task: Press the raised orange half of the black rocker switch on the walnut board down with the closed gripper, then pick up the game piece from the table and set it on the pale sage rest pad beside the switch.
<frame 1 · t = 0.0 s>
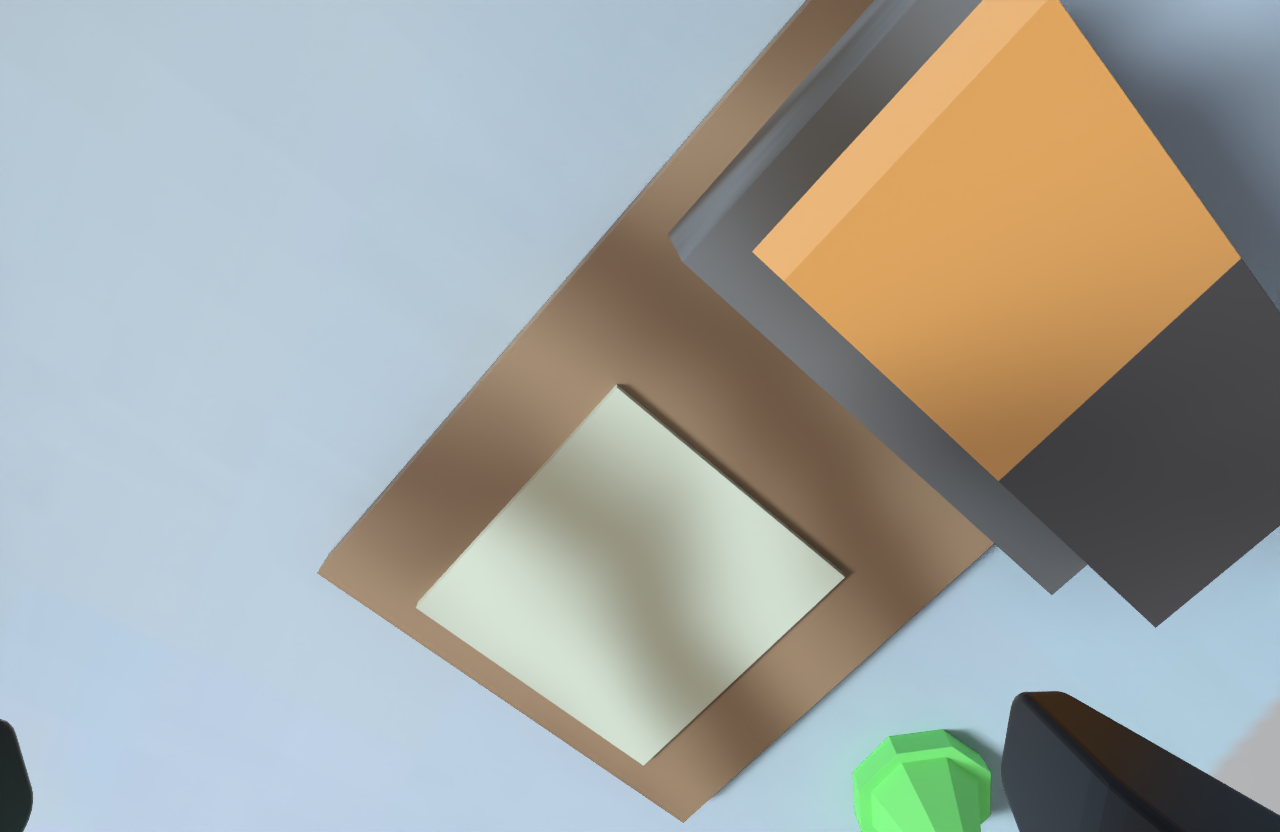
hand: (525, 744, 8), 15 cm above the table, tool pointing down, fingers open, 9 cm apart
switch board: (768, 426, 23), on the table
breaker rocker: (1084, 355, 15), point 7 cm above the table, hinge at -10.0°
game piece: (914, 779, 27), on the table
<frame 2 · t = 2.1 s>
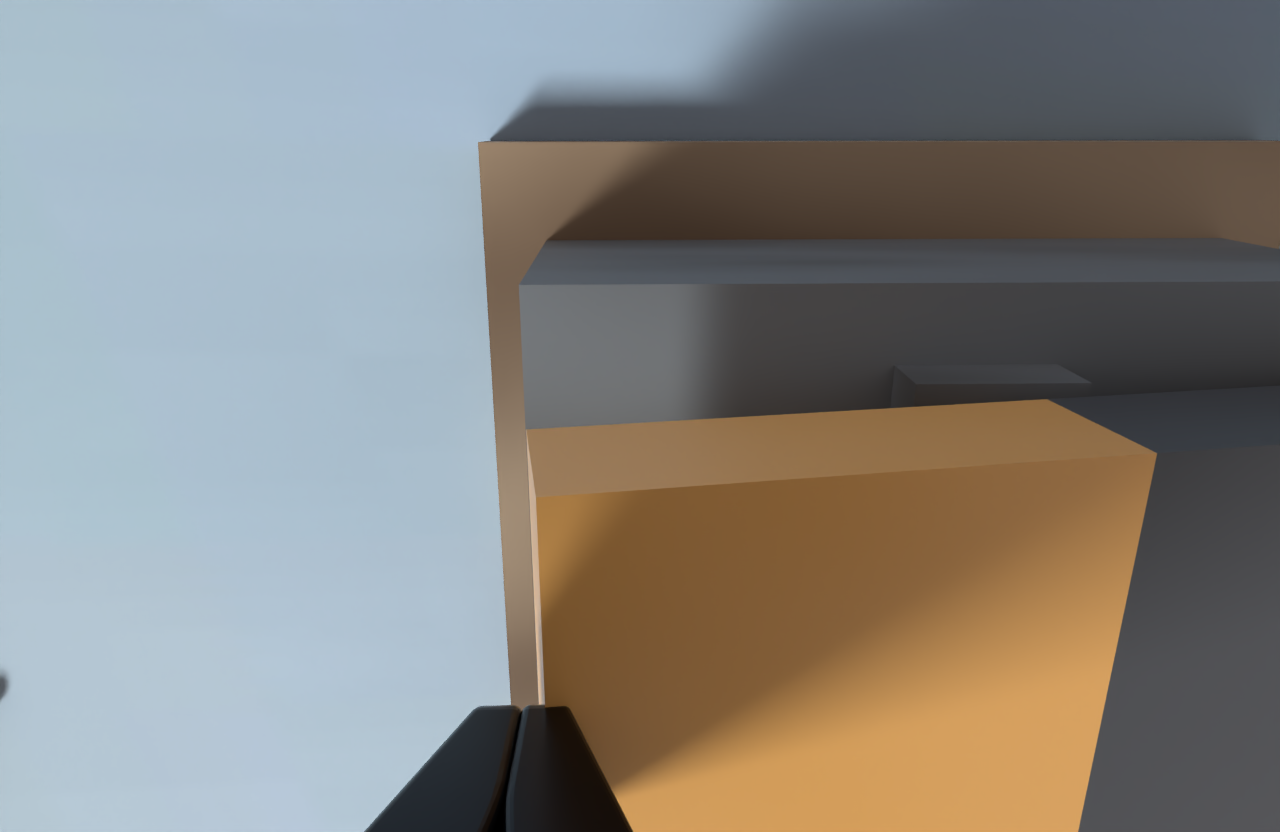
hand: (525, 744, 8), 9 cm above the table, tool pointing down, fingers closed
switch board: (832, 673, 18), on the table
breaker rocker: (1056, 643, 9), point 7 cm above the table, hinge at -8.5°, touching gripper
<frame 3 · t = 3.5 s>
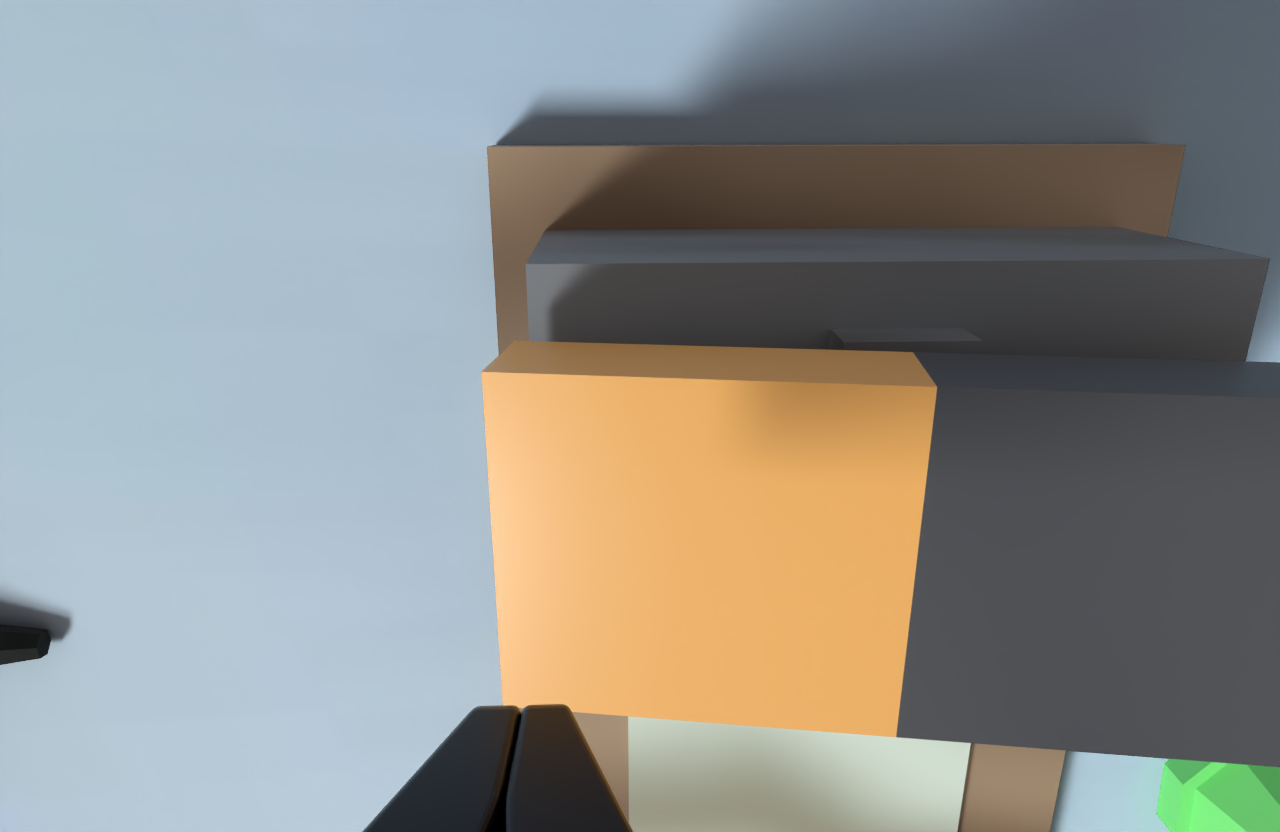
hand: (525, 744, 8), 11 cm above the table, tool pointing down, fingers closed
switch board: (796, 611, 20), on the table
breaker rocker: (904, 545, 12), point 7 cm above the table, hinge at 8.8°
game piece: (1230, 776, 23), on the table
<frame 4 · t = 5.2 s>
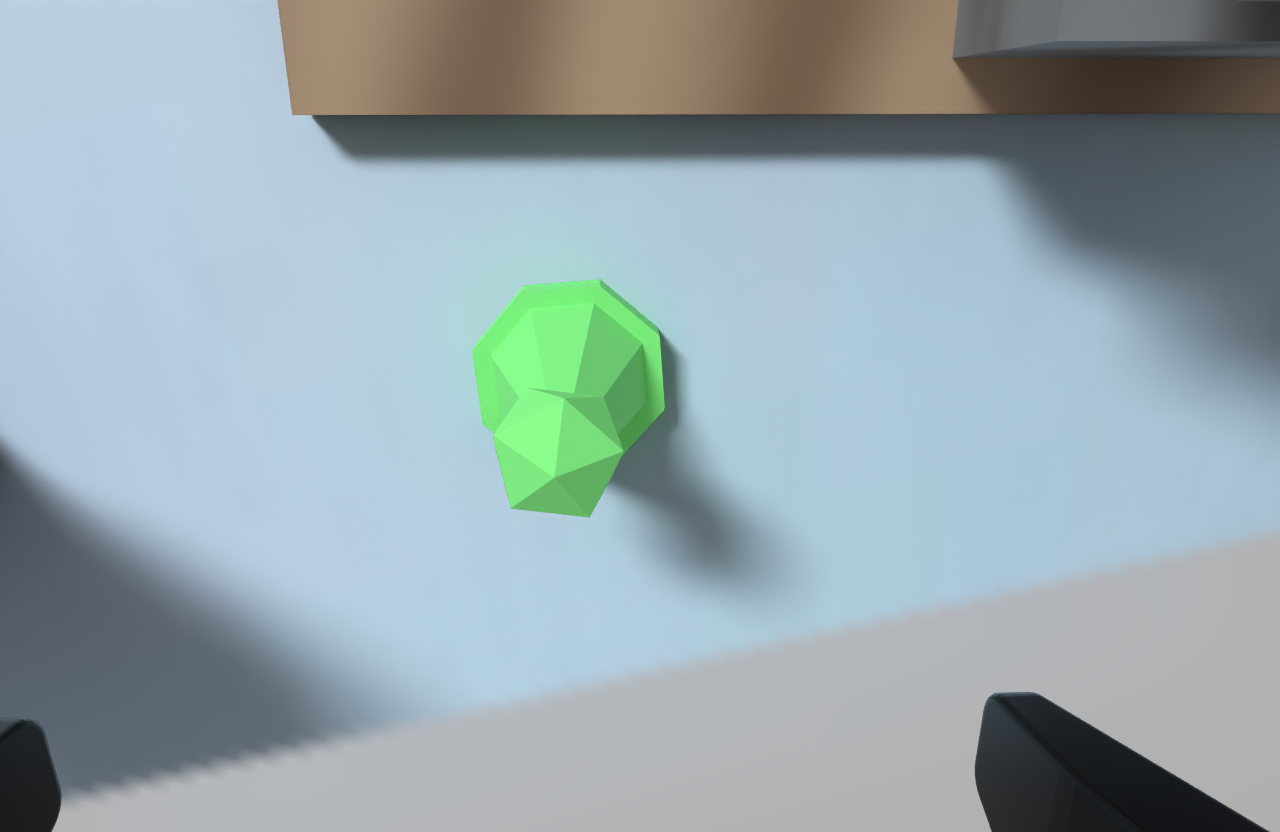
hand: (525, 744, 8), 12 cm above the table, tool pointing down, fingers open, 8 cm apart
game piece: (571, 368, 19), on the table
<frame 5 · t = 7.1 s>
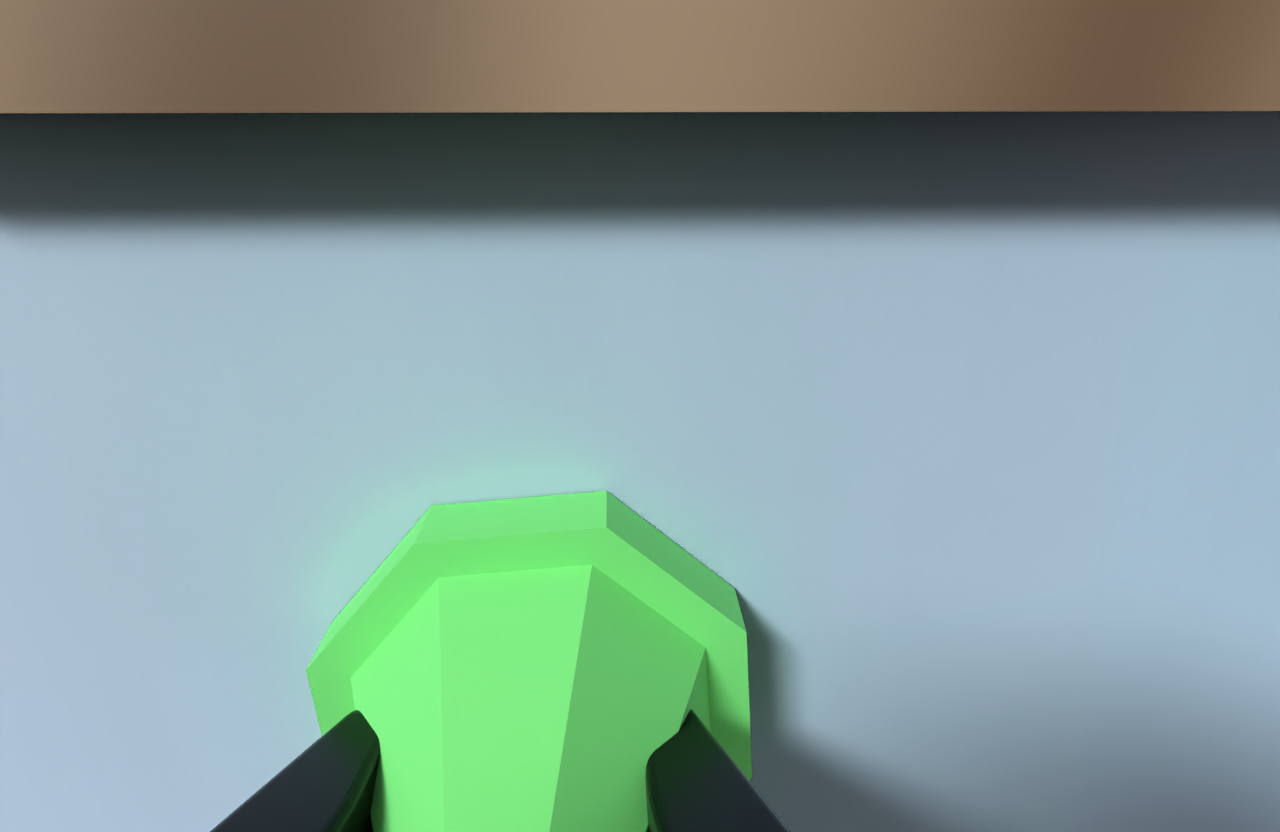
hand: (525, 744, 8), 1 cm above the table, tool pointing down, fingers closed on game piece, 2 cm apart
game piece: (544, 663, 9), on the table, touching gripper
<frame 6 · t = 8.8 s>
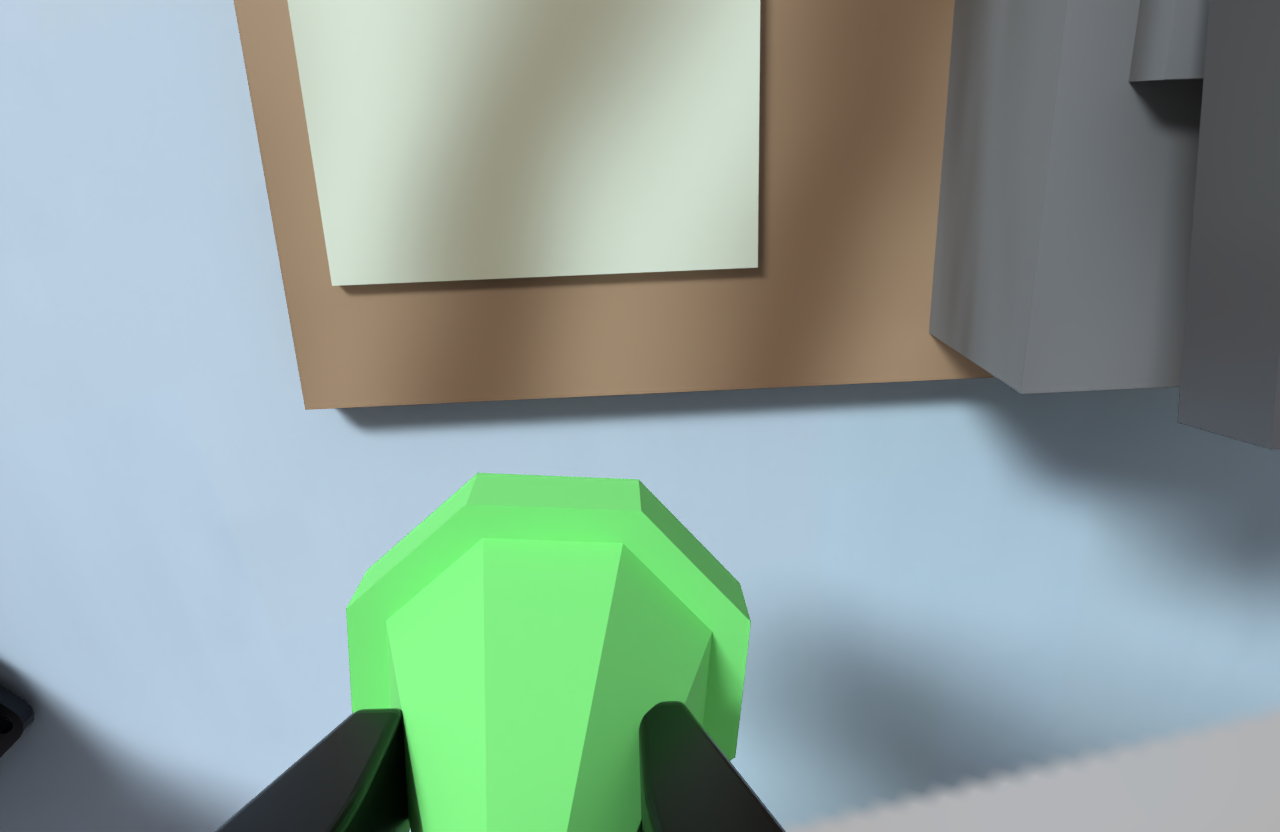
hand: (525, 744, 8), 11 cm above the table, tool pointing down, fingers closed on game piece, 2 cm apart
switch board: (827, 40, 16), on the table
game piece: (554, 632, 10), point 9 cm above the table, touching gripper
when the fingers open (4 cm above the table, at t = 10.7 s): game piece stays where it is, resting on switch board.
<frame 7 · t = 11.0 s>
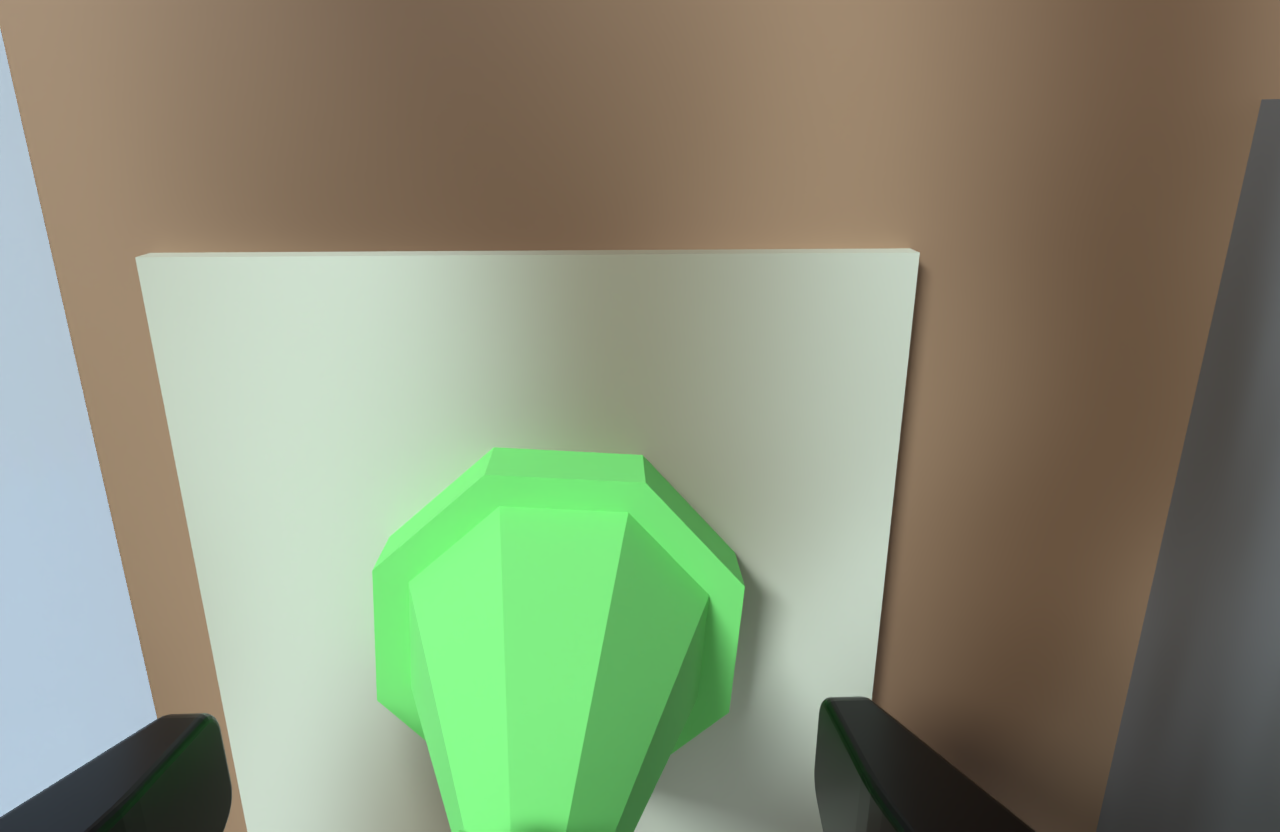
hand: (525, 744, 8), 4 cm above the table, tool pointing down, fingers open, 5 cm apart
switch board: (964, 536, 12), on the table
game piece: (562, 597, 10), point 1 cm above the table, touching switch board
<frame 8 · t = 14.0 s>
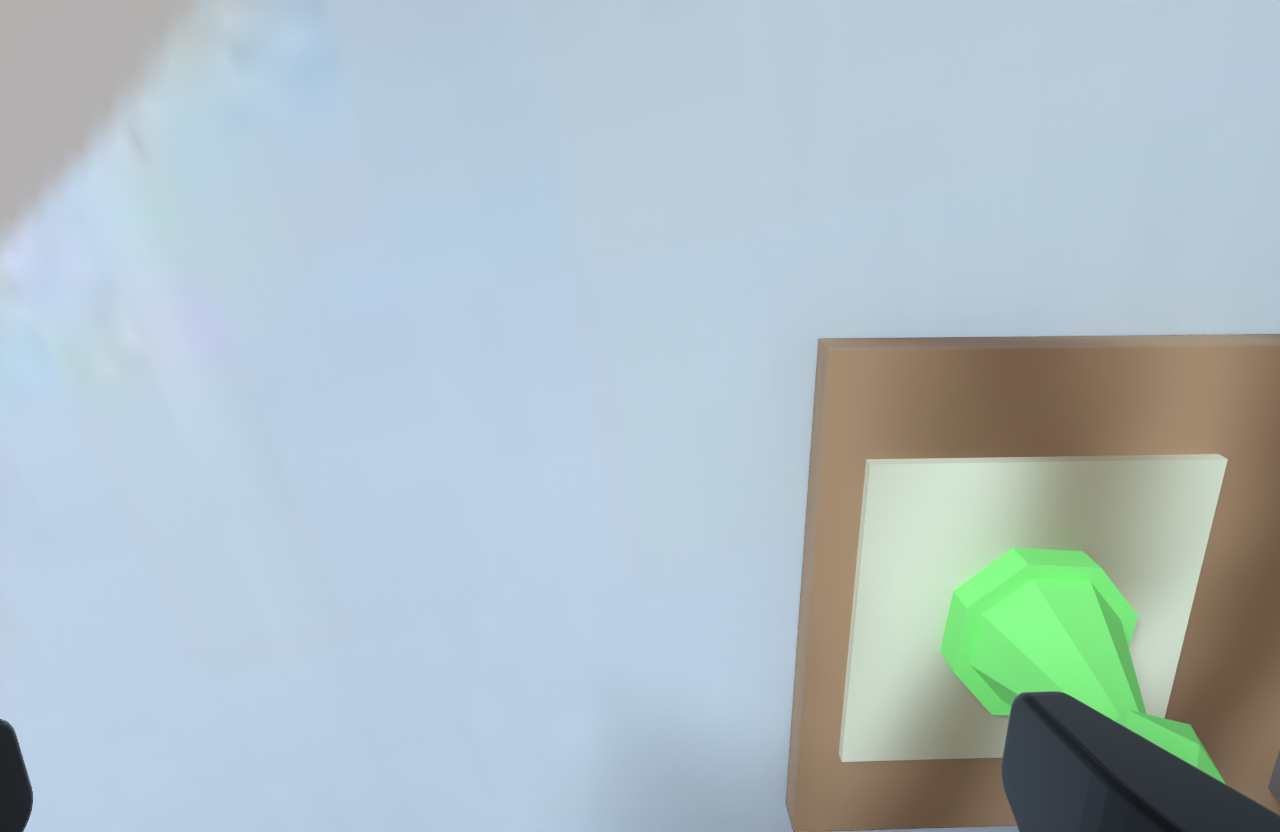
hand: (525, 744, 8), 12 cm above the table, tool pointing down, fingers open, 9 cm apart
switch board: (1214, 586, 22), on the table
game piece: (1025, 620, 20), point 1 cm above the table, touching switch board
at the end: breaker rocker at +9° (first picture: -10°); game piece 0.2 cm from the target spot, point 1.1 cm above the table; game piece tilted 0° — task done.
